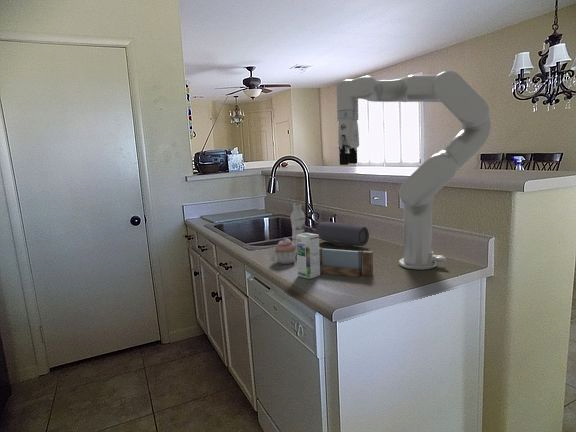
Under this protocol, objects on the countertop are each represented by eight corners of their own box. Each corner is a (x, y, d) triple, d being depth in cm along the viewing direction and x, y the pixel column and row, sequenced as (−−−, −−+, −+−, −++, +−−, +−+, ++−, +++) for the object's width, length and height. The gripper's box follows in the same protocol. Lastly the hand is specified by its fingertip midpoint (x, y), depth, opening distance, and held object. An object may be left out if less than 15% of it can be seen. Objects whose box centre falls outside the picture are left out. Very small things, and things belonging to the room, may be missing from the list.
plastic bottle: (290, 252, 161) (288, 205, 158) (293, 248, 168) (290, 203, 164) (305, 251, 160) (303, 205, 157) (307, 247, 167) (305, 202, 163)
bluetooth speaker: (370, 246, 164) (369, 223, 162) (357, 251, 157) (357, 227, 156) (328, 239, 180) (327, 219, 178) (316, 244, 173) (315, 222, 171)
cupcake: (270, 261, 149) (268, 236, 147) (291, 257, 153) (289, 233, 151) (281, 267, 141) (279, 241, 139) (302, 262, 145) (301, 237, 143)
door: (362, 273, 128) (362, 250, 127) (361, 274, 127) (361, 251, 126) (323, 269, 135) (323, 247, 134) (322, 270, 134) (321, 248, 133)
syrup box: (297, 276, 130) (295, 234, 127) (309, 271, 134) (307, 231, 131) (308, 279, 125) (306, 237, 123) (321, 275, 129) (319, 233, 127)
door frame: (373, 274, 127) (372, 251, 126) (370, 278, 124) (369, 254, 122) (310, 268, 138) (309, 246, 136) (306, 271, 134) (304, 249, 133)
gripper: (349, 113, 127) (350, 165, 130) (364, 116, 142) (365, 162, 145) (329, 115, 131) (330, 165, 134) (345, 118, 146) (346, 163, 149)
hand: (348, 164), depth 139 cm, fingers open, 9 cm apart
